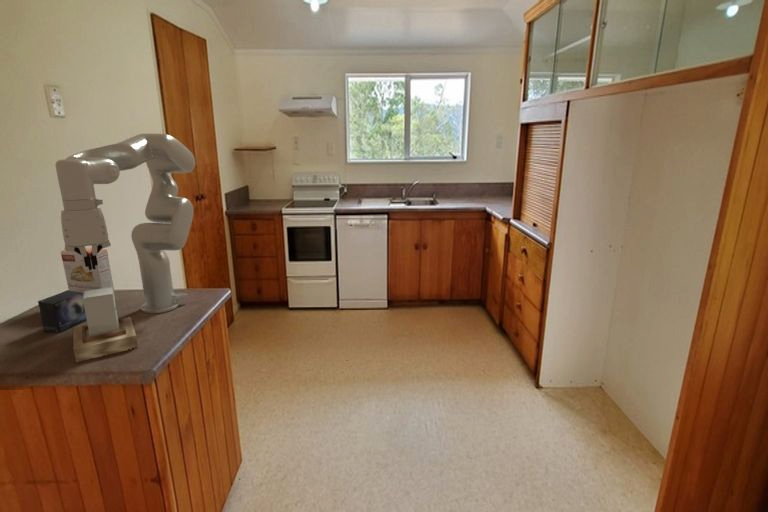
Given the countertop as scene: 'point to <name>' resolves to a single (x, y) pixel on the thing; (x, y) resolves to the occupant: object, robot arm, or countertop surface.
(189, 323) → the countertop surface
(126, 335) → the maple plinth
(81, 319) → the small box
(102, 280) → the cracker box
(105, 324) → the supplement box
